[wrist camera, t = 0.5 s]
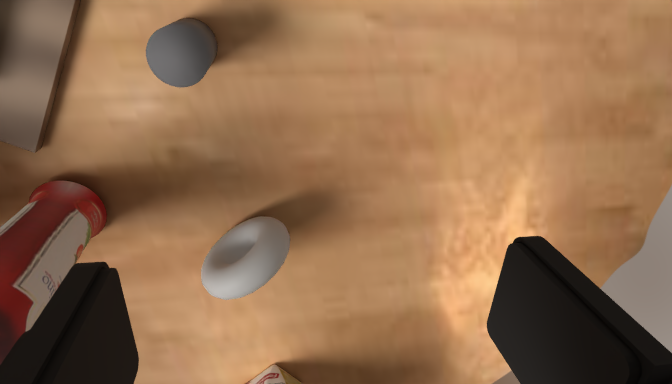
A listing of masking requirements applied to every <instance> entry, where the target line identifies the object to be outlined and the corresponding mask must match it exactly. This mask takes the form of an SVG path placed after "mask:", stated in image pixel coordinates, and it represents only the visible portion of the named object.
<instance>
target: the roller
mask: <svg viewBox="0 0 672 384" xmlns="http://www.w3.org/2000/svg"><path fill="white" fill-rule="evenodd" d="M216 54H217V41H216V38H215V35H214V34H213V32H212V30H211V29H210V28H209V27H208V26H207V25H206V24H204V23H203V22H201V21H199V20H196V19H192V18H184V19H180V20H178V21H176V22H173V23H171V24H169V25H167V26H165V27H163V28H160V29H159V30H157V31H156V32H154V33H153V35H152V36H151V37H150V39H149V41H148V43H147V47H146V57H147V61H148V64H149V66H150V68H151V70H152V72H153V73H154V74H155V75H156V76H157V77H158V78H159V79H160V80H161V81H163V82H165V83H166V84H169V85H171V86H175V87H188V86H192V85H194V84H196V83H198V82H199V81H200V80H201V79H202V78H203V77H204V75H205V74H206V72H207V70H208V69H209V67H210V66H211V64H212V62H213V61H214V59H215V57H216Z"/></svg>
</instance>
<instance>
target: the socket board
mask: <svg viewBox="0 0 672 384" xmlns="http://www.w3.org/2000/svg"><path fill="white" fill-rule="evenodd" d="M80 1H81V0H0V141H2V142H5V143H8V144H11V145H14V146H17V147H20V148H22V149H25V150H28V151H31V152H34V153H35V152H37V151H38V150H39V149H41V146H42V143H43V139H44V135H45V132H46V128H47V124H48V120H49V117H50V113H51V109H52V105H53V102H54V98H55V94H56V90H57V87H58V83H59V79H60V76H61V72H62V68H63V64H64V61H65V57H66V53H67V49H68V46H69V42H70V38H71V35H72V31H73V27H74V23H75V20H76V16H77V12H78V8H79V5H80Z"/></svg>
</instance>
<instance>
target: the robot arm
mask: <svg viewBox="0 0 672 384" xmlns="http://www.w3.org/2000/svg"><path fill="white" fill-rule="evenodd" d="M487 330H488V333H489V335H490V337H491V339H492V340H493V342H494V343H495V345H496V347H497V348H498V350H499V351H500V353H501V354H502V356H503V357H504V359H505V360H506V362H507V363H508V365H509V367H510V368H511V370H512V371H513V373H514V374H515V376H516V377H517V379H518V380H519V382H520V383H521V384H672V353H671V352H670V351H669V350H667V349H666V348H665V347H664V346H663V345H662V344H661V343H660V342H659V341H657V340H656V339H655V338H654V337H653V336H652V335H651V334H650V333H649V332H647V331H646V330H645V329H644V328H643V327H642V326H641V325H640V324H638V323H637V322H636V321H635V320H634V319H633V318H632V317H631V316H630V315H629V314H627V313H626V312H625V311H624V310H623V309H622V308H621V307H620V306H619V305H618V304H616V303H615V302H614V301H613V300H612V299H611V298H610V297H609V296H608V295H606V294H605V293H604V292H603V291H602V290H601V289H600V288H599V287H598V286H596V285H595V284H594V283H593V282H592V281H591V280H590V279H589V278H588V277H586V276H585V275H584V274H583V273H582V272H581V271H580V270H579V269H578V268H577V267H575V266H574V265H573V264H572V263H571V262H570V261H569V260H568V259H567V258H565V257H564V256H563V255H562V254H561V253H560V252H559V251H558V250H557V249H555V248H554V247H553V246H552V245H551V244H550V243H549V242H548V241H547V240H545V239H544V238H543V237H541V236H530V237H518V238H516V239H515V240H514V242H513V243H512V244H510V245H509V246H508V248H507V251H506V255H505V259H504V262H503V266H502V270H501V273H500V277H499V280H498V284H497V288H496V291H495V295H494V298H493V302H492V306H491V309H490V313H489V317H488V320H487ZM138 363H139V358H138V352H137V348H136V344H135V340H134V336H133V332H132V328H131V323H130V319H129V315H128V311H127V307H126V303H125V299H124V295H123V291H122V287H121V283H120V279H119V275H118V272H117V270H116V268H109V266H108V265H107V263H106V262H92V263H77V264H74V265H73V266H72V267H71V269H70V270H69V272H68V273H67V275H66V276H65V278H64V279H63V281H62V282H61V284H60V285H59V287H58V288H57V290H56V291H55V293H54V294H53V296H52V297H51V299H50V300H49V302H48V303H47V305H46V306H45V308H44V309H43V311H42V312H41V314H40V315H39V317H38V318H37V320H36V321H35V323H34V324H33V326H32V327H31V329H30V330H28V331H26V332H24V333H23V334H22V335H21V336H20V338H19V339H18V340H17V341H16V343H15V344H14V346H13V347H12V349H11V350H10V352H9V353H8V355H7V356H6V357H5V359H4V360H3V362H2V363H1V365H0V384H134V381H135V377H136V374H137V371H138Z"/></svg>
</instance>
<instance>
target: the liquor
mask: <svg viewBox="0 0 672 384" xmlns="http://www.w3.org/2000/svg"><path fill="white" fill-rule="evenodd" d="M106 218H107V214H106V209H105V206H104V204H103V202H102V201H101V200H100V198H99V197H98V196H97V195H96V194H95V193H94V192H93V191H91V190H90V189H88V188H87V187H85V186H83V185H81V184H78V183H74V182H70V181H52V182H48V183H45V184H42V185H41V186H39V187H38V188H36V190H35V191H34V192H33V193H32V195H31V196H30V199H29V203H28V204H27V205H26V206H25V207H23V208H22V209H21V210H20V211H19V212H18V213H17V214H16V215H14V216H13V217H12V218H11V219H10V220H8V221H7V222H6V223H5V224H4V225H3V226H1V227H0V365H1V363H2V362H3V360H4V359H5V357H6V356H7V355H8V353H9V352H10V350H11V349H12V347H13V346H14V344H15V343H16V341H17V340H18V339H19V338H20V336H21V335H22V334H23V333H24V332H26V331H28V330H30V329H31V327H32V326H33V324H34V323H35V321H36V320H37V318H38V317H39V315H40V314H41V312H42V311H43V309H44V308H45V306H46V305H47V303H48V302H49V300H50V299H51V297H52V296H53V294H54V293H55V291H56V290H57V288H58V287H59V285H60V284H61V282H62V281H63V279H64V278H65V276H66V275H67V273H68V272H69V270H70V269H71V267H72V266H73V265H74V264H76V262H77V260H78V259H79V257H80V255H81V254H82V252H83V250H84V248H85V247H86V245H87V244H88V242H89V240H90V239H91V238H92V237H94V236H96V235H97V234H98V233H99V232H100V231H102V229H103V227H104V226H105V223H106Z"/></svg>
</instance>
